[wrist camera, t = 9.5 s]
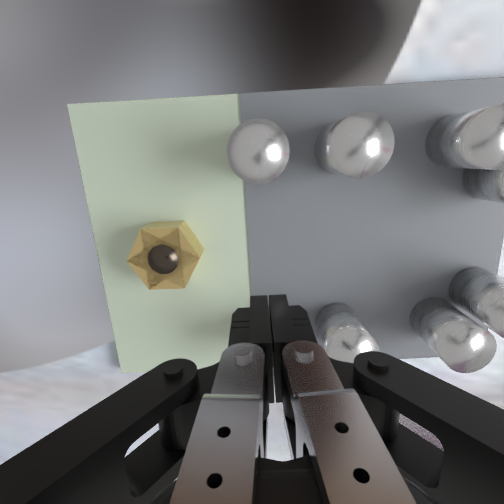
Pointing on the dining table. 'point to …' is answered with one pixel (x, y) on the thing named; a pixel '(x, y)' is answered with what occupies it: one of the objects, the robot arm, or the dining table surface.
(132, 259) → the nut
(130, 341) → the board
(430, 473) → the robot arm
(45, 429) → the dining table surface
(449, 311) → the spacers
